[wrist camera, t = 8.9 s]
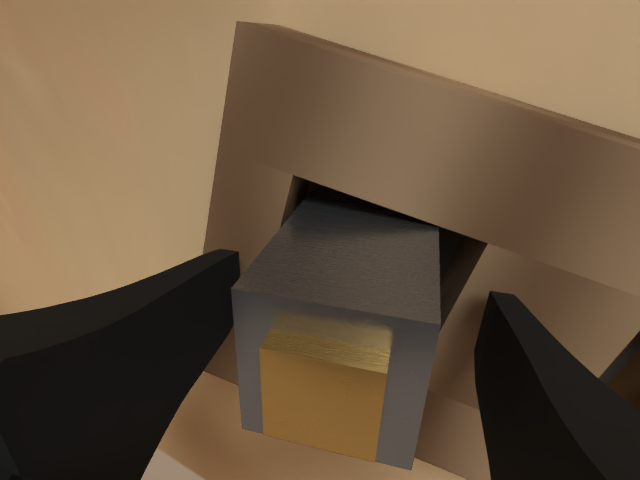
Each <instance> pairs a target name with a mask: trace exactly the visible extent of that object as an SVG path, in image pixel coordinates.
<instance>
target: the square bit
mask: <svg viewBox="0 0 640 480" xmlns="http://www.w3.org/2000/svg"><path fill="white" fill-rule="evenodd" d="M231 296H232V308H233V321H234V333H235V345H236V358H237V370H238V382H239V395H240V407H241V419H242V429H246V430H250V431H254V432H258V433H262V434H263V435H266V436H270V437H274V438H278V439H282V440H286V441H290V442H295V443H299V444H303V445H307V446H311V447H315V448H319V449H323V450H327V451H331V452H335V453H339V454H343V455H347V456H351V457H355V458H359V459H363V460H367V461H371V462H379V463H383V464H387V465H391V466H395V467H399V468H403V469H408V470H412V465H413V460H414V455H415V450H416V445H417V440H418V435H419V430H420V425H421V420H422V415H423V410H424V406H425V401H426V396H427V391H428V386H429V381H430V376H431V371H432V366H433V361H434V356H435V351H436V346H437V341H438V336H439V331H440V327H441V310H440V265H439V226H437V225H434V224H431V223H429V222H426V221H423V220H420V219H417V218H414V217H412V216H409V215H406V214H403V213H400V212H397V211H395V210H392V209H389V208H386V207H383V206H380V205H377V204H375V203H372V202H369V201H366V200H363V199H360V198H358V197H355V196H352V195H349V194H346V193H343V192H341V191H338V190H335V189H332V188H329V187H326V186H323V185H321V184H318V183H317V184H316V185H315V186H314V188H313V189H312V190H311V191H310V192H309V194H308V195H307V196H306V197H305V199H304V200H303V201H302V202H301V203H300V205H299V206H298V207H297V208H296V210H295V211H294V212H293V213H292V214H291V216H290V217H289V218H288V219H287V221H286V222H285V223H284V224H283V226H282V227H281V228H280V229H279V230H278V232H277V233H276V234H275V235H274V237H273V238H272V239H271V240H270V241H269V243H268V244H267V245H266V246H265V248H264V249H263V250H262V251H261V252H260V254H259V255H258V256H257V257H256V259H255V260H254V261H253V262H252V263H251V265H250V266H249V267H248V268H247V270H246V271H245V272H244V273H243V274H242V276H241V277H240V278H239V279H238V281H237V282H236V283H235V284H234V285H233V287H232V288H231Z"/></svg>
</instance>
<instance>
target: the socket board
mask: <svg viewBox="0 0 640 480" xmlns="http://www.w3.org/2000/svg"><path fill="white" fill-rule="evenodd" d="M317 183H318V184H321V185H323V186H326V187H329V188H332V189H335V190H338V191H341V192H343V193H346V194H349V195H352V196H355V197H358V198H360V199H363V200H366V201H369V202H372V203H375V204H377V205H380V206H383V207H386V208H389V209H392V210H395V211H397V212H400V213H403V214H406V215H409V216H412V217H414V218H417V219H420V220H423V221H426V222H429V223H431V224H434V225H437V226H439V265H440V310H441V327H440V331H439V336H438V341H437V346H436V351H435V356H434V361H433V366H432V371H431V376H430V381H429V386H428V391H427V396H426V401H425V406H424V410H423V415H422V420H421V425H420V430H419V435H418V440H417V445H416V450H415V455H414V457H415V458H417V459H420V460H422V461H425V462H427V463H429V464H432V465H434V466H437V467H439V468H442V469H444V470H447V471H449V472H451V473H454V474H456V475H459V476H461V477H464V478H466V479H469V480H491V477H490V469H489V462H488V456H487V450H486V444H485V439H484V433H483V427H482V422H481V416H480V410H479V404H478V398H477V392H476V386H475V370H474V348H475V345H476V341H477V337H478V333H479V329H480V326H481V322H482V318H483V314H484V310H485V307H486V303H487V299H488V295H489V291H495V292H502V293H508V294H514V295H515V296H516V297H517V298H518V299H519V300H520V301H521V302H522V303H523V304H524V305H525V306H526V307H527V308H528V309H529V310H530V312H531V313H532V314H533V315H534V316H535V317H536V318H537V319H538V320H539V321H540V322H541V324H542V325H543V326H544V327H545V328H546V329H547V330H548V331H549V332H550V333H551V334H552V335H553V336H554V337H555V338H556V339H557V340H558V341H559V342H560V343H561V344H562V345H563V346H564V347H565V348H566V349H567V350H568V351H569V352H570V353H571V354H572V355H573V356H574V357H575V358H576V359H577V360H578V361H580V362H581V363H582V364H583V365H584V366H585V367H586V368H587V369H588V370H589V371H590V372H592V373H593V374H594V375H595V376H596V377H597V378H598V379H600V380H601V381H602V382H603V383H604V384H606V385H607V386H608V387H609V388H611V389H612V390H613V391H614V392H616V393H617V394H618V395H619V396H621V397H622V398H623V399H624V400H626V401H627V402H628V403H629V404H631V405H632V406H633V407H635V408H636V409H637V410H639V411H640V139H638V138H635V137H631V136H628V135H625V134H622V133H619V132H616V131H612V130H609V129H606V128H603V127H600V126H597V125H593V124H590V123H587V122H584V121H581V120H577V119H574V118H571V117H568V116H565V115H562V114H558V113H555V112H552V111H549V110H546V109H543V108H539V107H536V106H533V105H530V104H527V103H524V102H520V101H517V100H514V99H511V98H508V97H505V96H501V95H498V94H495V93H492V92H489V91H486V90H482V89H479V88H476V87H473V86H470V85H467V84H463V83H460V82H457V81H454V80H451V79H448V78H444V77H441V76H438V75H435V74H432V73H429V72H425V71H422V70H419V69H416V68H413V67H410V66H406V65H403V64H400V63H397V62H394V61H391V60H387V59H384V58H381V57H378V56H375V55H372V54H368V53H365V52H362V51H359V50H356V49H353V48H349V47H346V46H343V45H340V44H337V43H333V42H330V41H327V40H324V39H321V38H318V37H314V36H311V35H308V34H305V33H302V32H299V31H295V30H292V29H289V28H286V27H283V26H280V25H272V24H262V23H251V22H240V21H237V22H236V29H235V36H234V43H233V50H232V57H231V64H230V71H229V78H228V85H227V92H226V99H225V105H224V112H223V119H222V126H221V133H220V140H219V147H218V154H217V161H216V168H215V175H214V182H213V189H212V195H211V202H210V209H209V216H208V223H207V230H206V237H205V244H204V251H203V254H206V253H209V252H211V251H214V250H217V249H226V250H233V251H239V263H240V277H241V276H242V274H243V273H244V272H245V271H246V270H247V268H248V267H249V266H250V265H251V263H252V262H253V261H254V260H255V259H256V257H257V256H258V255H259V254H260V252H261V251H262V250H263V249H264V248H265V246H266V245H267V244H268V243H269V241H270V240H271V239H272V238H273V237H274V235H275V234H276V233H277V232H278V230H279V229H280V228H281V227H282V226H283V224H284V223H285V222H286V221H287V219H288V218H289V217H290V216H291V214H292V213H293V212H294V211H295V210H296V208H297V207H298V206H299V205H300V203H301V202H302V201H303V200H304V199H305V197H306V196H307V195H308V194H309V192H310V191H311V190H312V189H313V188H314V186H315V185H316V184H317ZM204 371H205V372H207V373H210V374H212V375H215V376H217V377H220V378H222V379H224V380H227V381H229V382H232V383H234V384H237V385H239V382H238V370H237V358H236V345H235V333H234V325H233V327H232V329H231V331H230V333H229V335H228V336H227V338H226V339H225V341H224V342H223V343H222V345H221V346H220V348H219V349H218V351H217V352H216V354H215V355H214V356H213V358H212V359H211V361H210V362H209V364H208V365H207V366H206V368H205V369H204Z"/></svg>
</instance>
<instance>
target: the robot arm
mask: <svg viewBox="0 0 640 480" xmlns="http://www.w3.org/2000/svg"><path fill="white" fill-rule="evenodd" d="M239 278H240V263H239V251H233V250H226V249H217V250H214V251H211V252H209V253H206V254H203V255H201V256H199V257H196V258H194V259H191V260H189V261H187V262H184V263H182V264H180V265H177V266H175V267H173V268H170V269H168V270H166V271H163V272H161V273H158V274H156V275H153V276H150V277H148V278H145V279H143V280H140V281H137V282H135V283H132V284H130V285H127V286H124V287H121V288H118V289H115V290H112V291H109V292H105V293H102V294H98V295H95V296H92V297H88V298H84V299H80V300H76V301H72V302H67V303H63V304H59V305H54V306H50V307H46V308H41V309H35V310H30V311H24V312H19V313H12V314H6V315H0V480H141V478H142V476H143V474H144V472H145V469H146V467H147V465H148V464H149V462H150V460H151V458H152V456H153V454H154V452H155V450H156V448H157V446H158V444H159V443H160V441H161V439H162V437H163V435H164V433H165V431H166V429H167V428H168V426H169V424H170V422H171V420H172V419H173V417H174V415H175V413H176V411H177V410H178V408H179V406H180V404H181V403H182V401H183V400H184V398H185V397H186V395H187V393H188V392H189V390H190V389H191V388H192V386H193V385H194V383H195V382H196V381H197V379H198V378H199V376H200V375H201V373H202V372H203V371H204V369H205V368H206V366H207V365H208V364H209V362H210V361H211V359H212V358H213V356H214V355H215V354H216V352H217V351H218V349H219V348H220V346H221V345H222V343H223V342H224V341H225V339H226V338H227V336H228V335H229V333H230V331H231V329H232V327H233V325H234V321H233V308H232V296H231V288H232V287H233V285H234V284H235V283H236V282H237V281H238V279H239ZM474 370H475V386H476V392H477V398H478V404H479V410H480V416H481V422H482V427H483V433H484V439H485V444H486V450H487V456H488V462H489V469H490V477H491V480H640V411H639V410H637V409H636V408H635V407H633V406H632V405H631V404H629V403H628V402H627V401H626V400H624V399H623V398H622V397H621V396H619V395H618V394H617V393H616V392H614V391H613V390H612V389H611V388H609V387H608V386H607V385H606V384H604V383H603V382H602V381H601V380H600V379H598V378H597V377H596V376H595V375H594V374H593V373H592V372H590V371H589V370H588V369H587V368H586V367H585V366H584V365H583V364H582V363H581V362H580V361H578V360H577V359H576V358H575V357H574V356H573V355H572V354H571V353H570V352H569V351H568V350H567V349H566V348H565V347H564V346H563V345H562V344H561V343H560V342H559V341H558V340H557V339H556V338H555V337H554V336H553V335H552V334H551V333H550V332H549V331H548V330H547V329H546V328H545V327H544V326H543V325H542V324H541V322H540V321H539V320H538V319H537V318H536V317H535V316H534V315H533V314H532V313H531V312H530V310H529V309H528V308H527V307H526V306H525V305H524V304H523V303H522V302H521V301H520V300H519V299H518V298H517V297H516V296H515V295H514V294H508V293H502V292H495V291H489V295H488V299H487V303H486V307H485V310H484V314H483V318H482V322H481V326H480V329H479V333H478V337H477V341H476V345H475V348H474Z"/></svg>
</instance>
